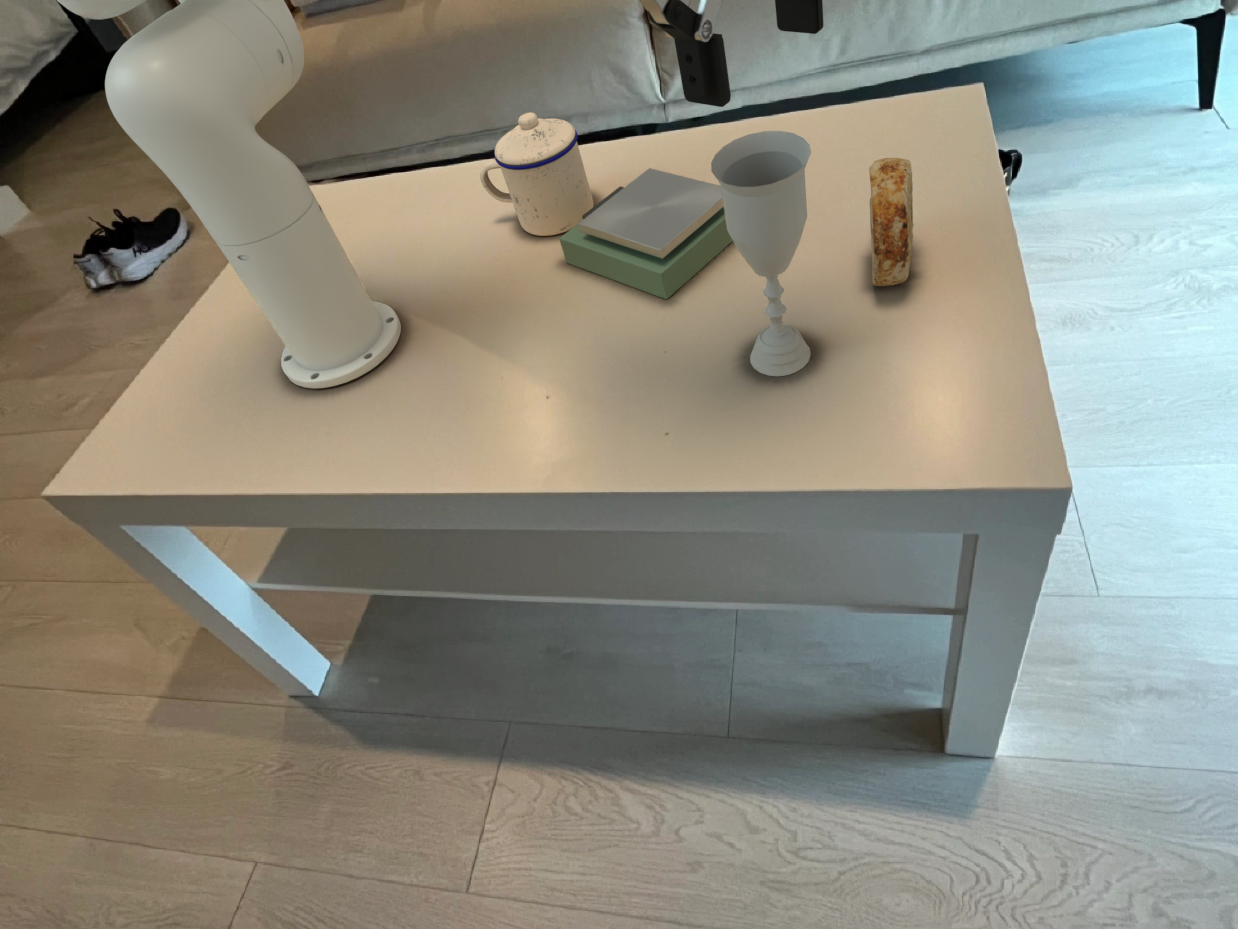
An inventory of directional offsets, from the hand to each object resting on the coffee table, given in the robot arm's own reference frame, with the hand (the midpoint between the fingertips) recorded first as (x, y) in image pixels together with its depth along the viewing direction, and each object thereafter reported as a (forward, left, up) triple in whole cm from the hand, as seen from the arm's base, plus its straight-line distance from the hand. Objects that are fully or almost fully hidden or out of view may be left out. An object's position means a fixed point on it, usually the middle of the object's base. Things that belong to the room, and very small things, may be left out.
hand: (755, 64), depth 51 cm
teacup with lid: (-37, +7, -24) cm, 45 cm away
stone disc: (+2, +14, -25) cm, 28 cm away
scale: (-21, +8, -24) cm, 33 cm away
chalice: (0, 0, -24) cm, 24 cm away
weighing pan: (-20, +8, -21) cm, 30 cm away
